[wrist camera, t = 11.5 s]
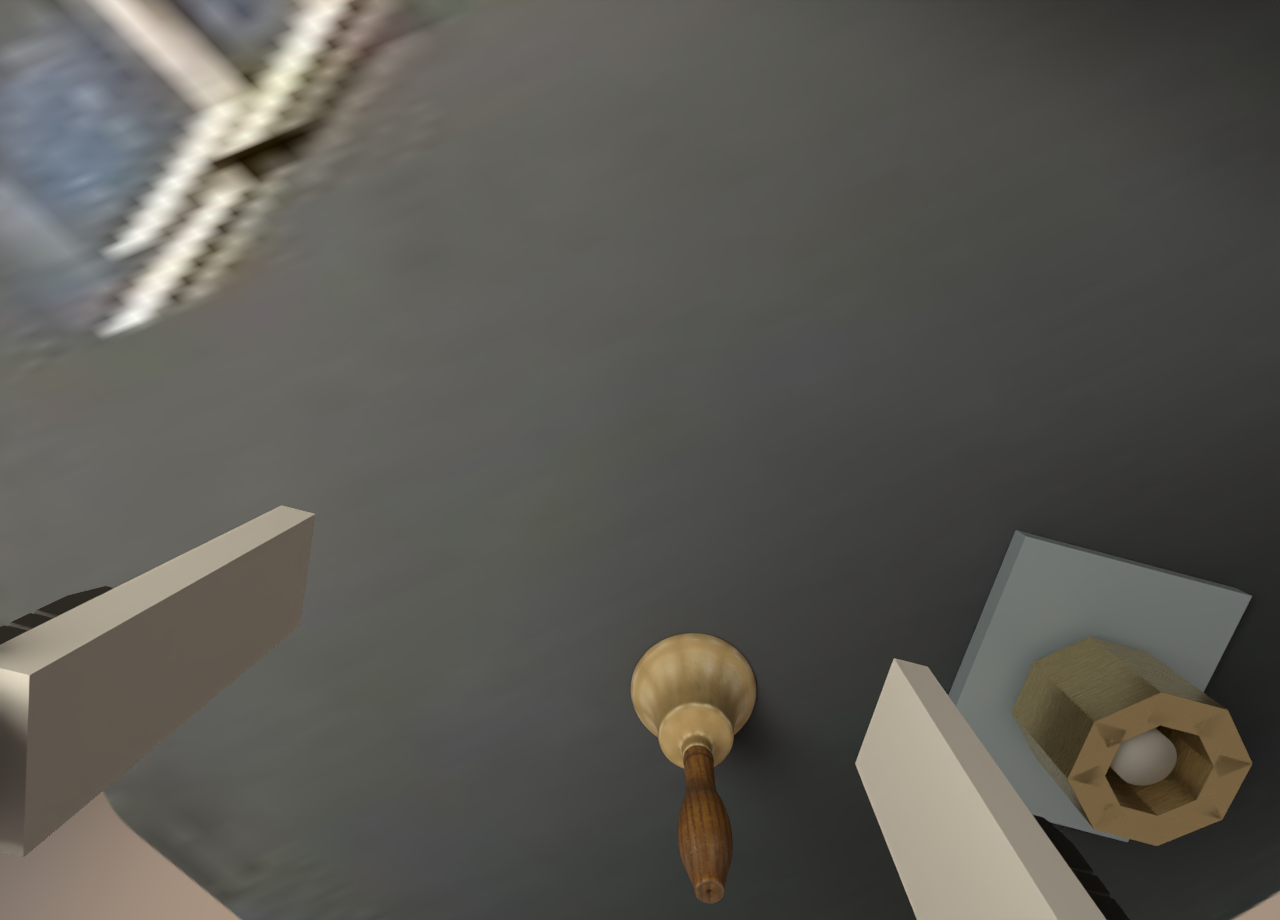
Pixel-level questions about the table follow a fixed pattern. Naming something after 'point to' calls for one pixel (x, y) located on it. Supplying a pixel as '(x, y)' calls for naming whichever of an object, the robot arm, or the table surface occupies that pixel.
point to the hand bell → (697, 739)
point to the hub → (1119, 710)
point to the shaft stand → (1067, 613)
